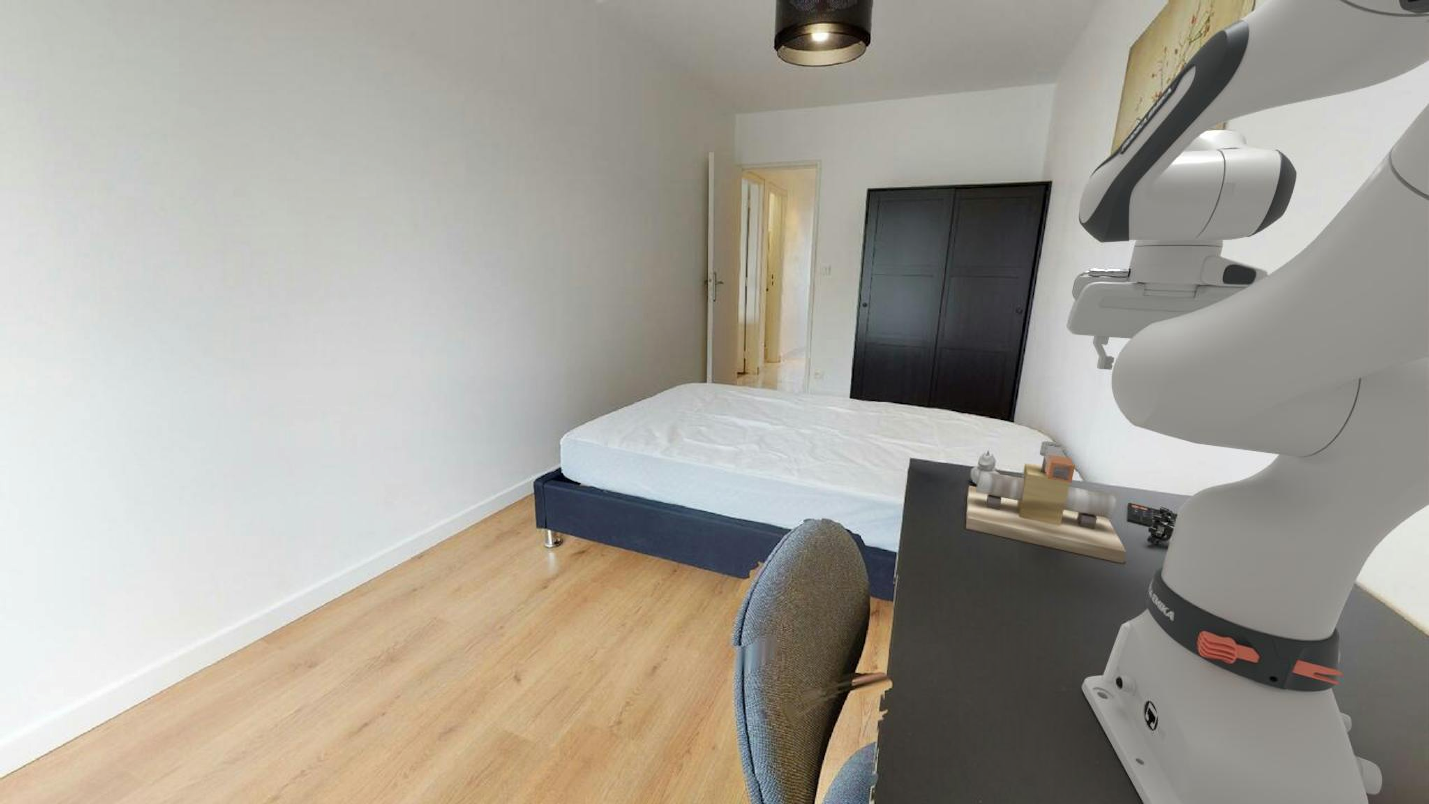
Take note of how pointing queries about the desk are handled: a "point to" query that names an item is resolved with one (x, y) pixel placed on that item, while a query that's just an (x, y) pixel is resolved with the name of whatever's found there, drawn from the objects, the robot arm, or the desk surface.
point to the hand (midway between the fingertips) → (1145, 372)
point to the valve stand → (1045, 513)
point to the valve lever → (1057, 462)
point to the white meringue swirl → (984, 466)
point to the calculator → (1143, 515)
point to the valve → (1161, 527)
